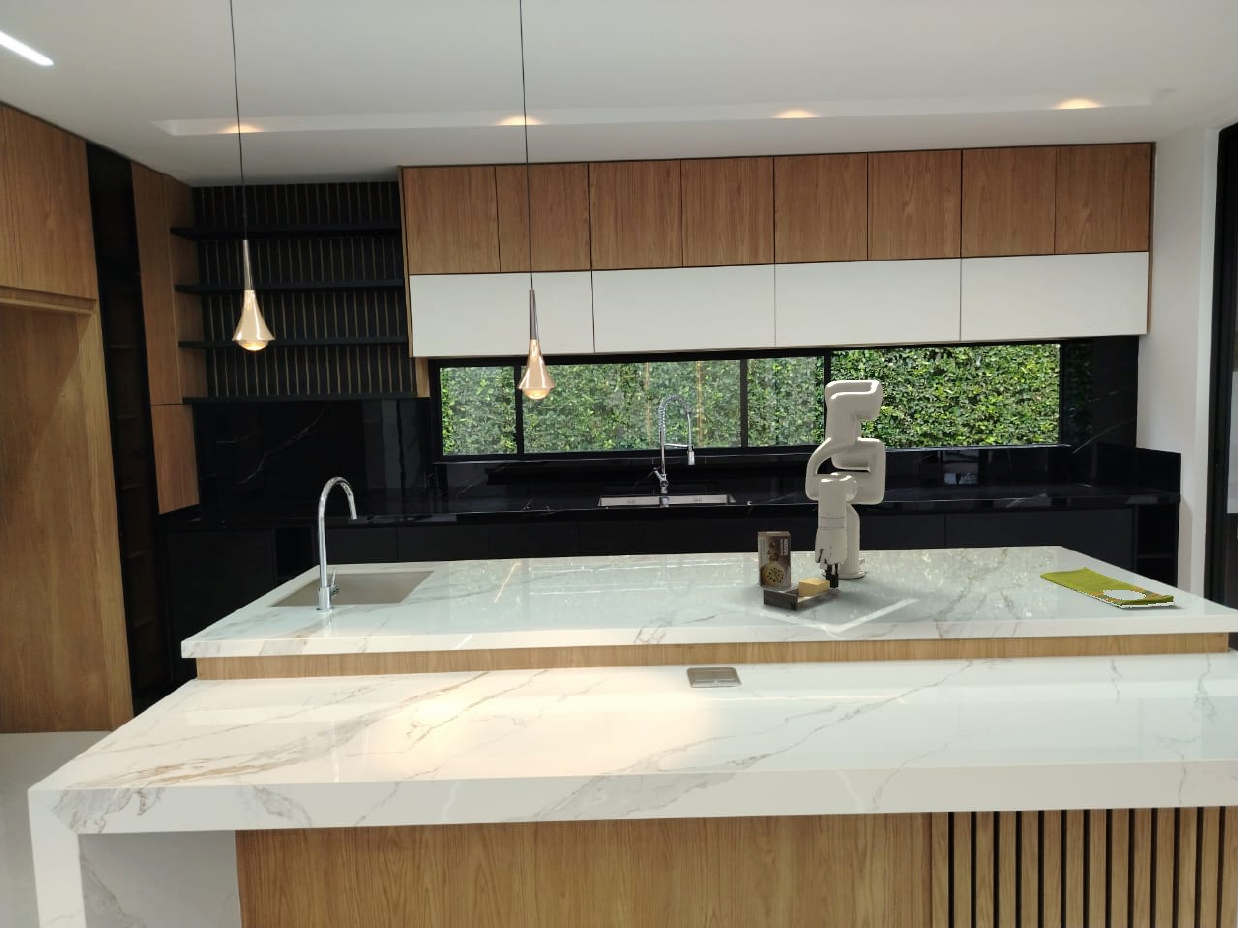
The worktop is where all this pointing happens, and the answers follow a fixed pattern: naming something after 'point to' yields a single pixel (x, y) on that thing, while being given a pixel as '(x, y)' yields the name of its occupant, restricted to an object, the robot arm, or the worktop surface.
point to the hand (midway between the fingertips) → (832, 587)
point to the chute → (796, 598)
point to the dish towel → (1102, 586)
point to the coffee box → (774, 558)
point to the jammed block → (812, 586)
